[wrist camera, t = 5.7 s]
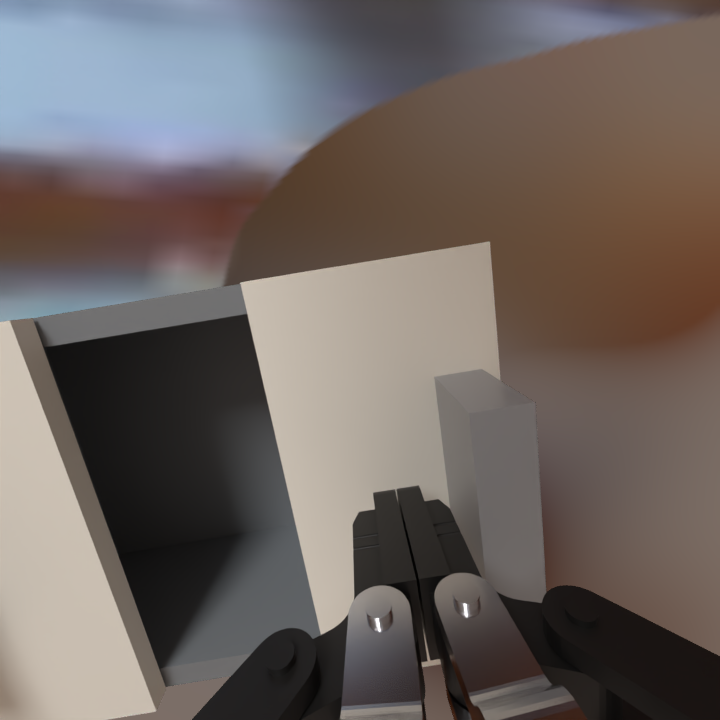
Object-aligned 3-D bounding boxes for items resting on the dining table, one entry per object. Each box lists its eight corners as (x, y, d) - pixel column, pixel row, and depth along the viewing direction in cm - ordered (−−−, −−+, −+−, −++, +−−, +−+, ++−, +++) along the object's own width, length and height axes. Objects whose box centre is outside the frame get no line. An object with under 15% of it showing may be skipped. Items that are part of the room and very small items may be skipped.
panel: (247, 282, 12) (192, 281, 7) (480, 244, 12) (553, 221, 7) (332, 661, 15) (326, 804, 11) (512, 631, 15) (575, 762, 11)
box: (35, 325, 20) (-200, 356, 12) (306, 281, 20) (275, 278, 12) (119, 557, 24) (-14, 716, 15) (351, 519, 24) (353, 655, 15)
